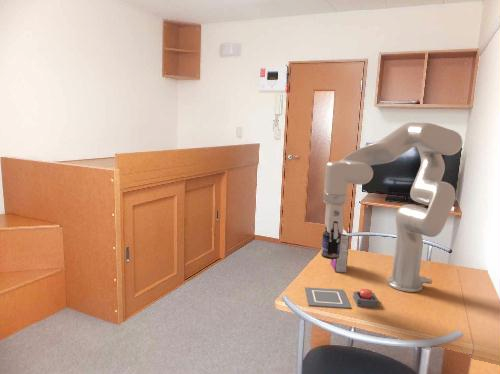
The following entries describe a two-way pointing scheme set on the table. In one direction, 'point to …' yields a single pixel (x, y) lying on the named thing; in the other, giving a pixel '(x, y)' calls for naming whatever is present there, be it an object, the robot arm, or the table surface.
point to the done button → (366, 294)
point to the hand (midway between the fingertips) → (330, 249)
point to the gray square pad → (327, 298)
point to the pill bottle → (325, 246)
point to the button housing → (365, 300)
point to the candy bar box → (342, 254)
